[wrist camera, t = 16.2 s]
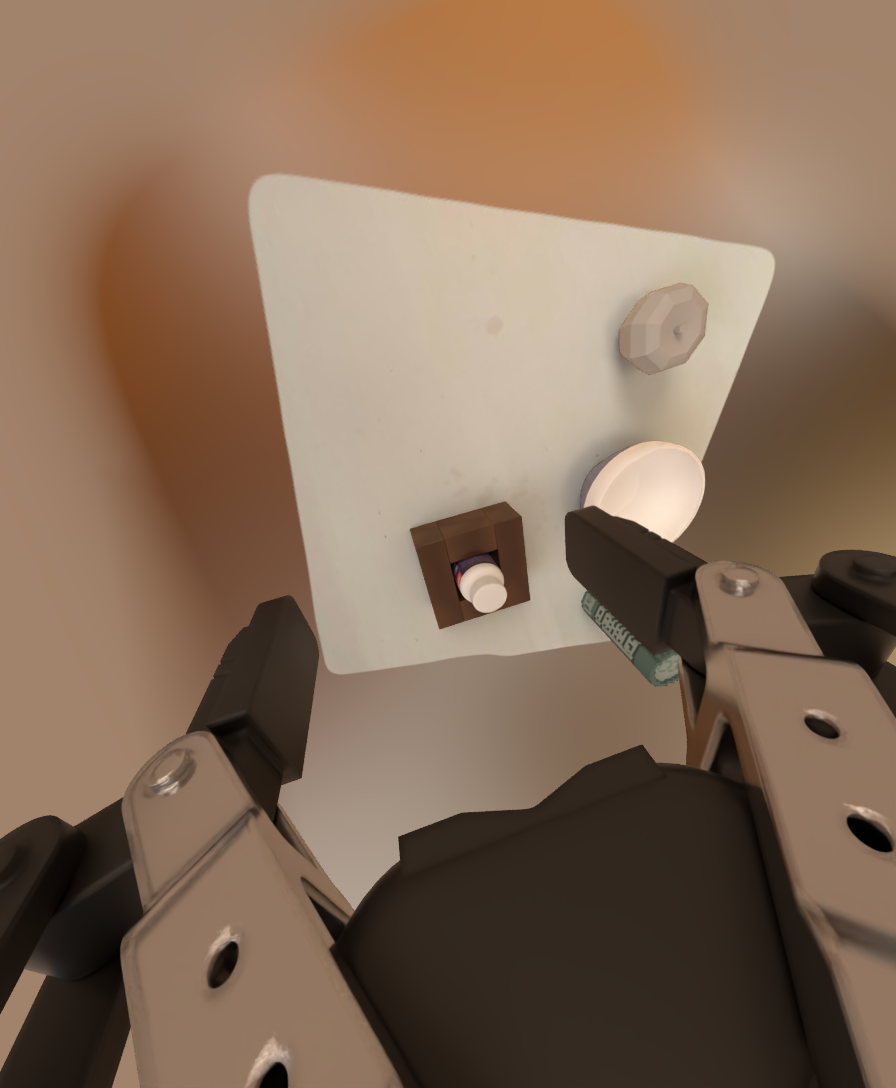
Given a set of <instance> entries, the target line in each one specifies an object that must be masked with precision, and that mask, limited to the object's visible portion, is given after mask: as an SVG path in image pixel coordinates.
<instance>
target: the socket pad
mask: <svg viewBox="0 0 896 1088" xmlns="http://www.w3.org/2000/svg"><path fill="white" fill-rule="evenodd" d="M410 532H411V535H412V539H413V542H414V545H415V549H416V552H417V556H418V559H419V562H420V566H421V569H422V573H423V576H424V579H425V583H426V586H427V589H428V593H429V596H430V600H431V603H432V606H433V610H434V613H435V616H436V620H437V623H438V626H439V629H442V628H445V627H449V626H452V625H455V624H458V623H461V622H464V621H467V620H470V619H473V618H477V617H480V616H483V615H486V614H489V613H492V612H489V613H483V612H480V611H478V610H477V609H476V608H475V607H474V605H473V603H472V602H470V601H468V600H466V599H465V598H464V596H463V595H462V593H461V592H460V589H459V587H458V585H457V582H456V580H455V579H454V577H453V573H452V569H451V565H450V563H454V562H457V561H460V560H464V559H467V558H470V557H473V556H477V555H480V554H483V553H487V552H488V553H489V554H490V556H491V557H492V559H493V560H494V561H495V563H496V564H497V566H498V567H499V569H500V570H501V572H502V574H503V577H504V587H505V589H506V592H507V598H506V601H505V603H504V604H503V605H502V606H501V607H500V608H499V609H497V610H496V611H498V610H501V609H505V608H508V607H511V606H514V605H517V604H520V603H523V602H526V601H529V600H530V594H529V584H528V575H527V565H526V556H525V546H524V536H523V527H522V517H521V516H520V515H519V514H518V513H517V512H516V511H515V510H514V509H513V508H512V507H511V506H510V505H509V504H508V503H507V502H502V503H499V504H495V505H492V506H488V507H485V508H481V509H478V510H474V511H471V512H467V513H464V514H460V515H457V516H453V517H450V518H446V519H443V520H439V521H436V522H433V523H429V524H426V525H422V526H419V527H416V528H412V529H410ZM493 612H495V611H493Z"/></svg>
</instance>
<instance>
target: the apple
mask: <svg viewBox="0 0 896 1088" xmlns="http://www.w3.org/2000/svg"><path fill="white" fill-rule="evenodd" d="M707 310H708V303H707V302H706V300H705V299H704V298H703V297H702V296H701V295H700V293H699V292H698V291H697V290H696V289H695V288H694V286H693V285H689V284H684V283H678V284H675V285H672V286H669V287H665V288H662V289H659V290H656V291H652V292H650V293H649V294H648V295H646V296H645V297H644V298H642V299H641V300H639V301H638V302H637V303H636V305H635V306H634V308H633V309H632V311H631V312H630V314H629V315H628V317H627V318H626V320H625V321H624V323H623V324H622V326H621V327H620V329H619V350H620V353H621V355H622V356H624V357H625V358H626V359H627V360H628V361H629V362H631V363H632V364H633V365H634V366H635V367H636V368H638V369H639V370H641V371H643V372H645V373H646V374H648V375H650V374H653V373H657V372H660V371H663V370H666V369H669V368H672V367H675V366H678V365H681V364H683V363H686V362H687V360H688V359H689V357H690V356H691V354H692V353H693V352H694V350H695V349H696V347H697V346H698V345H699V343H700V342H701V340H702V339H703V338H704V336H705V329H706V319H707Z"/></svg>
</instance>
